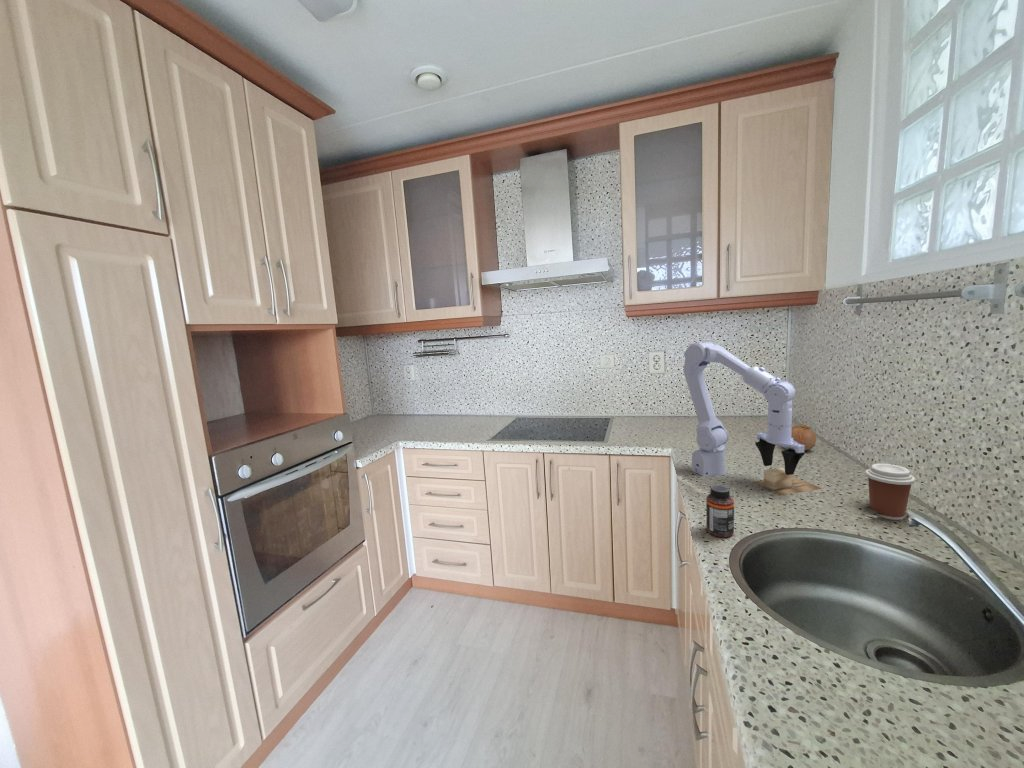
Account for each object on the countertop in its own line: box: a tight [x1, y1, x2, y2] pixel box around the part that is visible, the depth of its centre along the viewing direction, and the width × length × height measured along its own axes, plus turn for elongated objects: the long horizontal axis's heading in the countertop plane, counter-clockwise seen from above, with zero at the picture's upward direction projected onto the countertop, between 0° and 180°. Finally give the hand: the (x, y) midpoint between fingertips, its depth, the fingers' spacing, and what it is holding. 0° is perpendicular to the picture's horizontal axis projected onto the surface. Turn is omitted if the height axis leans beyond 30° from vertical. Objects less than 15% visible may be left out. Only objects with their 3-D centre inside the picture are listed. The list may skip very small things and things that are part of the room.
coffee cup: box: [864, 463, 917, 521], centre depth 98 cm, size 9×9×12 cm
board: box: [752, 475, 823, 496], centre depth 116 cm, size 14×10×1 cm
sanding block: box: [763, 467, 793, 492], centre depth 115 cm, size 6×4×5 cm, turn 100°
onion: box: [791, 424, 817, 451], centre depth 147 cm, size 10×9×10 cm
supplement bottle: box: [705, 484, 735, 539], centre depth 95 cm, size 6×6×11 cm
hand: (778, 469), depth 115 cm, fingers open, 7 cm apart
